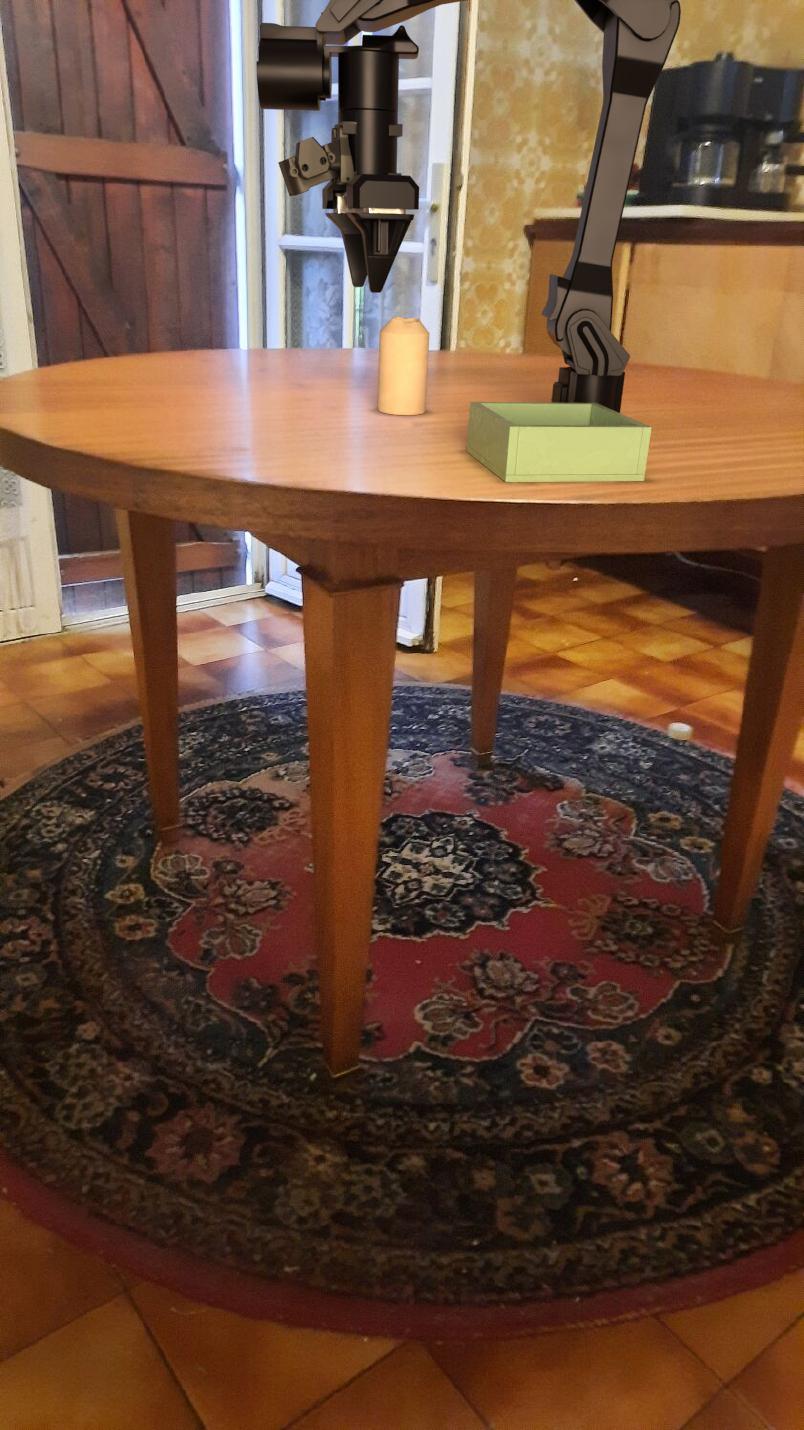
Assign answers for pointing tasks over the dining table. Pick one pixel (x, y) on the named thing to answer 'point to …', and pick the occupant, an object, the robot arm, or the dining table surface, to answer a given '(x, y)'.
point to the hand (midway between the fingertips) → (366, 289)
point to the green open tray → (557, 442)
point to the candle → (403, 367)
